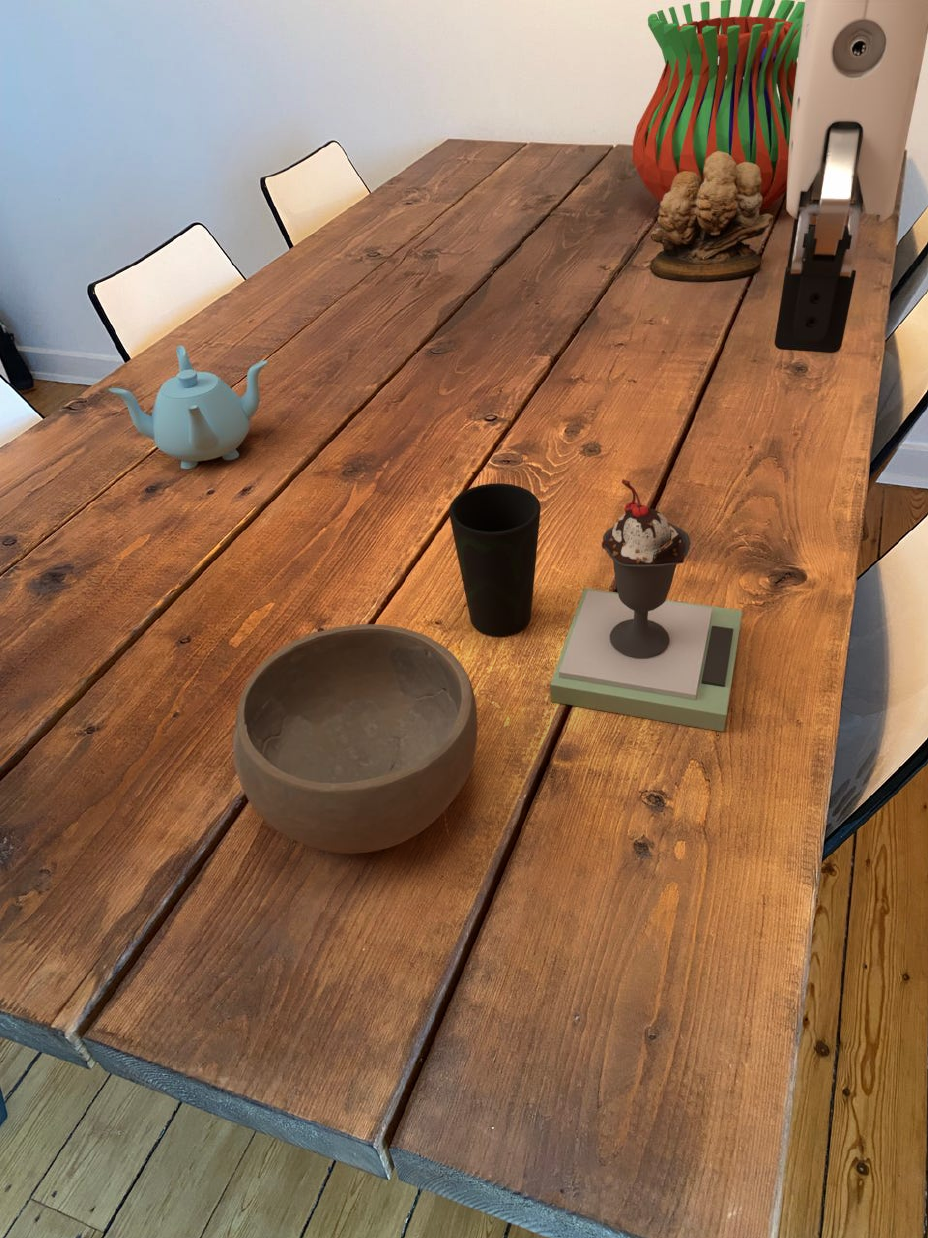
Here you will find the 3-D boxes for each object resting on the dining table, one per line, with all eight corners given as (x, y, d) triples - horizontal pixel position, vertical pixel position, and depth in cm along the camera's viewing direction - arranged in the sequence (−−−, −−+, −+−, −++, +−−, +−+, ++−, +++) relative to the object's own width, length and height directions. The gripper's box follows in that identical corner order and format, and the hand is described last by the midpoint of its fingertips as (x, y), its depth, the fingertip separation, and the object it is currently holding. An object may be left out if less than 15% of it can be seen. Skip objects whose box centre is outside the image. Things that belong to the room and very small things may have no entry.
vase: (789, 180, 179) (816, -9, 160) (819, 233, 156) (855, 20, 137) (627, 186, 183) (635, 2, 163) (633, 240, 160) (643, 33, 140)
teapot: (131, 465, 113) (104, 387, 106) (203, 415, 121) (182, 340, 115) (215, 487, 108) (192, 407, 101) (284, 433, 116) (267, 355, 110)
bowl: (476, 699, 79) (468, 606, 72) (490, 881, 65) (482, 786, 59) (270, 715, 79) (244, 624, 73) (241, 900, 65) (206, 808, 59)
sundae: (595, 614, 82) (600, 464, 72) (674, 612, 82) (689, 461, 72) (601, 666, 77) (606, 513, 67) (684, 665, 77) (702, 510, 67)
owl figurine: (758, 251, 152) (773, 135, 141) (774, 278, 143) (791, 157, 132) (645, 257, 153) (651, 143, 142) (653, 285, 144) (661, 165, 133)
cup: (550, 596, 89) (549, 487, 81) (531, 650, 83) (528, 538, 75) (471, 586, 90) (463, 478, 83) (448, 638, 85) (436, 527, 77)
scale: (740, 627, 83) (743, 604, 82) (724, 732, 74) (727, 709, 73) (583, 604, 87) (584, 582, 86) (550, 701, 78) (549, 679, 76)
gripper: (994, -59, 33) (886, 388, 44) (960, -101, 46) (882, 257, 57) (772, -49, 35) (722, 376, 46) (797, -92, 48) (753, 252, 59)
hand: (810, 310), depth 52 cm, fingers open, 9 cm apart
